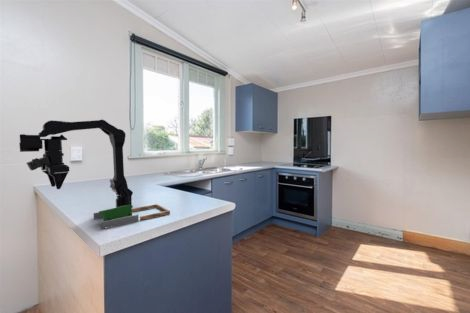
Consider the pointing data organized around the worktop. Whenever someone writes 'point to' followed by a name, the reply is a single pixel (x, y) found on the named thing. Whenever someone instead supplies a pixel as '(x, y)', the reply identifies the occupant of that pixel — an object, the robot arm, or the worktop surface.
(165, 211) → the bay
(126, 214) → the green bracket
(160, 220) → the worktop surface
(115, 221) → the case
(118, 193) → the robot arm
